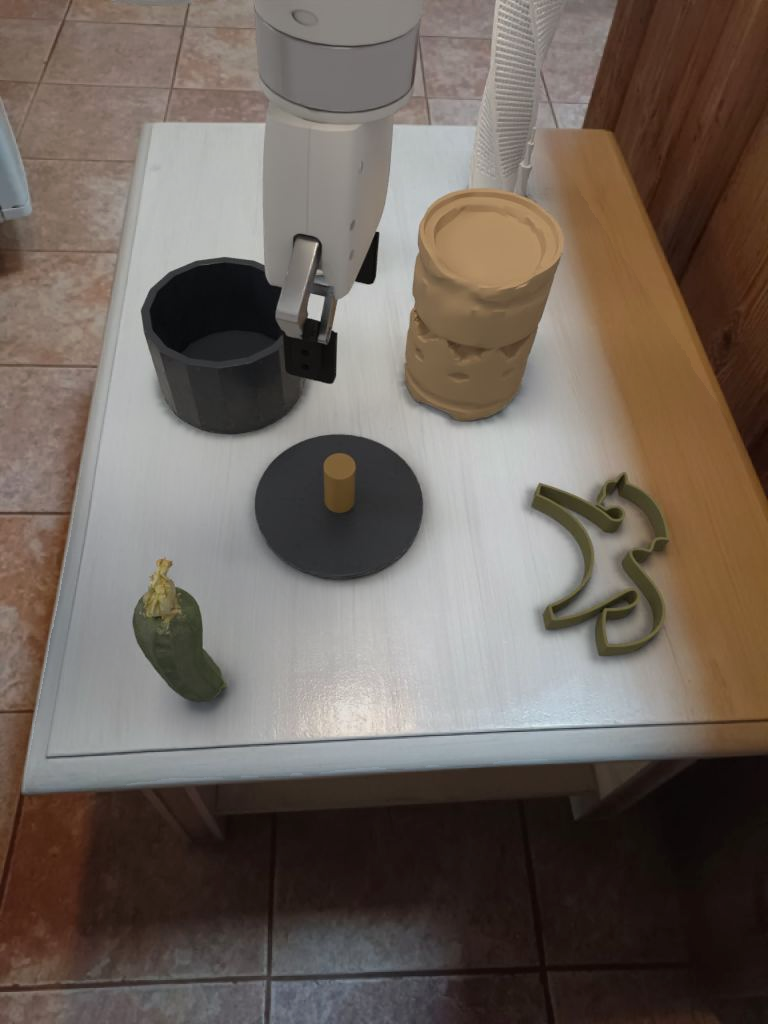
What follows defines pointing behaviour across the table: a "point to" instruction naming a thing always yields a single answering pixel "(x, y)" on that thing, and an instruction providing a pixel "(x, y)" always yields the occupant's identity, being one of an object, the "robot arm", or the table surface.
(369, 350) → the table surface
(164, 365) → the pot
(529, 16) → the skyscraper
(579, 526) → the cookie cutter
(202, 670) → the vegetable
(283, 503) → the lid
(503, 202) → the container
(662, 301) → the table surface
